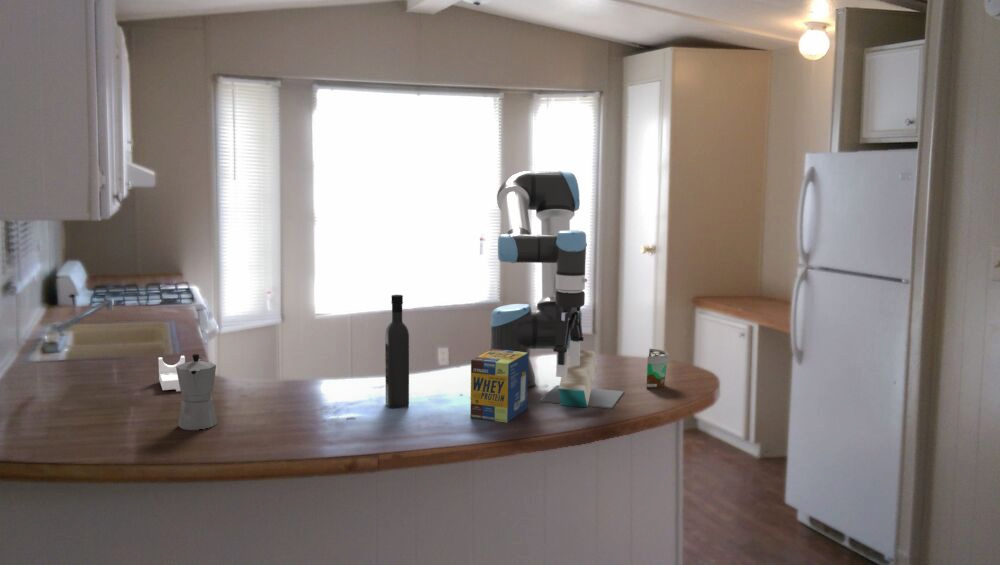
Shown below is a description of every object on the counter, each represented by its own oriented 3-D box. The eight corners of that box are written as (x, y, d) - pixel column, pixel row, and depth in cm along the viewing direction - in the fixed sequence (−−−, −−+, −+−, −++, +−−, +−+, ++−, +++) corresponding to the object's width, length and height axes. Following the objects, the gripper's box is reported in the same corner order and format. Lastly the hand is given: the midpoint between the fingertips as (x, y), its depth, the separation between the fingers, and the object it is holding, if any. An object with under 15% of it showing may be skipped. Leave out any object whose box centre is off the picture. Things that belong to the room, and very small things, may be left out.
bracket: (159, 382, 270) (158, 357, 269) (184, 380, 273) (184, 355, 272) (162, 393, 258) (161, 367, 257) (189, 391, 261) (188, 365, 260)
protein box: (469, 418, 238) (470, 359, 236) (492, 403, 252) (492, 348, 250) (507, 423, 234) (508, 363, 232) (528, 408, 248) (529, 351, 246)
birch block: (558, 389, 247) (569, 349, 256) (561, 404, 251) (572, 365, 261) (583, 391, 244) (593, 351, 254) (587, 407, 249) (596, 367, 258)
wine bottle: (388, 408, 245) (388, 297, 241) (384, 403, 250) (384, 294, 246) (409, 407, 247) (410, 296, 243) (405, 401, 252) (405, 293, 248)
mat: (540, 401, 254) (540, 400, 254) (556, 386, 271) (556, 385, 271) (611, 408, 248) (611, 407, 248) (623, 392, 265) (623, 391, 265)
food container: (667, 391, 267) (669, 358, 266) (646, 390, 268) (647, 356, 267) (668, 381, 279) (670, 349, 278) (648, 380, 280) (649, 348, 279)
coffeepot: (215, 431, 223) (213, 359, 221) (174, 434, 221) (172, 360, 218) (220, 414, 238) (218, 345, 235) (181, 416, 236) (179, 347, 233)
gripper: (572, 298, 225) (570, 383, 228) (595, 284, 249) (592, 361, 252) (543, 296, 228) (541, 380, 231) (567, 283, 251) (565, 359, 254)
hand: (568, 370), depth 241 cm, fingers open, 13 cm apart
